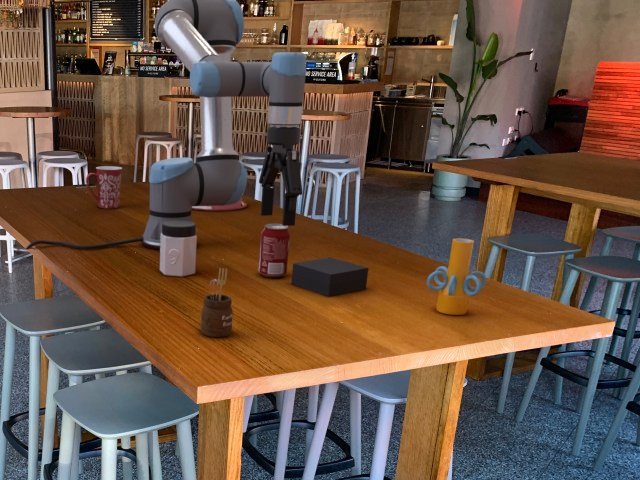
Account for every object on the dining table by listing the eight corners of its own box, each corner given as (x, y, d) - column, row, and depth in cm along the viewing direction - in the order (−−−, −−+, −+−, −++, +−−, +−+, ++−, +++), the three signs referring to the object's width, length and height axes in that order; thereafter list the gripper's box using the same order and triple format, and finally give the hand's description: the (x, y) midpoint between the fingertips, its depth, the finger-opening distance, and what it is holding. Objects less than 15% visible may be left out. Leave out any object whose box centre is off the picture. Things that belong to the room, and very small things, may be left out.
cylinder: (472, 323, 158) (485, 249, 153) (418, 314, 164) (430, 242, 158) (483, 308, 168) (496, 238, 162) (432, 300, 173) (443, 232, 167)
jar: (155, 274, 192) (156, 225, 187) (164, 267, 199) (165, 219, 194) (191, 278, 189) (193, 228, 185) (198, 270, 197) (200, 221, 192)
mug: (118, 204, 283) (118, 165, 278) (124, 208, 275) (124, 169, 270) (84, 205, 281) (83, 166, 276) (88, 210, 273) (88, 169, 267)
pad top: (329, 285, 175) (330, 274, 174) (291, 273, 184) (292, 263, 183) (367, 278, 181) (368, 267, 180) (329, 267, 190) (330, 257, 189)
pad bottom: (328, 296, 176) (329, 285, 175) (291, 284, 185) (291, 273, 184) (366, 289, 182) (367, 278, 181) (327, 277, 191) (329, 267, 190)
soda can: (286, 279, 189) (290, 229, 184) (257, 278, 190) (261, 228, 185) (286, 272, 195) (290, 224, 190) (258, 271, 196) (262, 222, 191)
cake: (218, 197, 300) (219, 168, 296) (261, 207, 280) (263, 176, 276) (163, 202, 288) (164, 172, 284) (204, 213, 268) (206, 181, 264)
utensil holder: (196, 335, 150) (199, 274, 145) (205, 326, 155) (208, 266, 151) (227, 339, 148) (230, 277, 143) (235, 329, 153) (238, 269, 149)
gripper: (323, 129, 168) (314, 229, 176) (278, 122, 191) (272, 210, 199) (290, 130, 167) (282, 230, 175) (249, 122, 190) (243, 211, 198)
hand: (277, 220), depth 187 cm, fingers open, 13 cm apart
